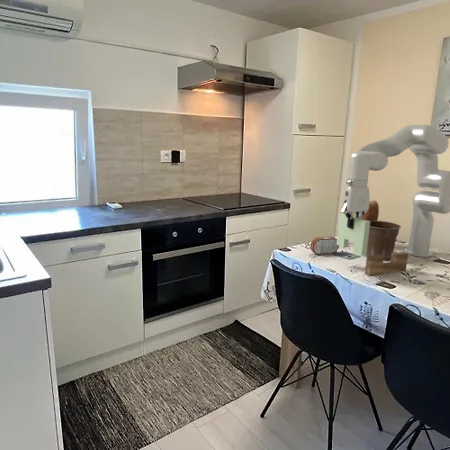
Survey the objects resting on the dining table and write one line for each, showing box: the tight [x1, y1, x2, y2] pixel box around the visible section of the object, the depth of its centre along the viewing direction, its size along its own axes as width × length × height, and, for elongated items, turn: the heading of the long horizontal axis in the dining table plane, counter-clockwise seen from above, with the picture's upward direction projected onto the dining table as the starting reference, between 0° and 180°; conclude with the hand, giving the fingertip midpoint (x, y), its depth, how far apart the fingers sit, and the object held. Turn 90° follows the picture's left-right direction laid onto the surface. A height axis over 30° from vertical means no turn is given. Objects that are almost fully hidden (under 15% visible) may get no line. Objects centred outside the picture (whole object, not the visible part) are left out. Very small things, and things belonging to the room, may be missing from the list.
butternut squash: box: [353, 199, 380, 221], centre depth 194 cm, size 14×13×25 cm
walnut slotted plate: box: [364, 251, 409, 277], centre depth 157 cm, size 2×20×8 cm, turn 111°
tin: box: [310, 235, 340, 255], centre depth 180 cm, size 15×3×8 cm, turn 108°
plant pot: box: [364, 220, 402, 261], centre depth 177 cm, size 16×16×16 cm
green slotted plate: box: [336, 213, 370, 257], centre depth 155 cm, size 16×2×14 cm, turn 21°
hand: (353, 227), depth 154 cm, fingers closed on green slotted plate, 2 cm apart
